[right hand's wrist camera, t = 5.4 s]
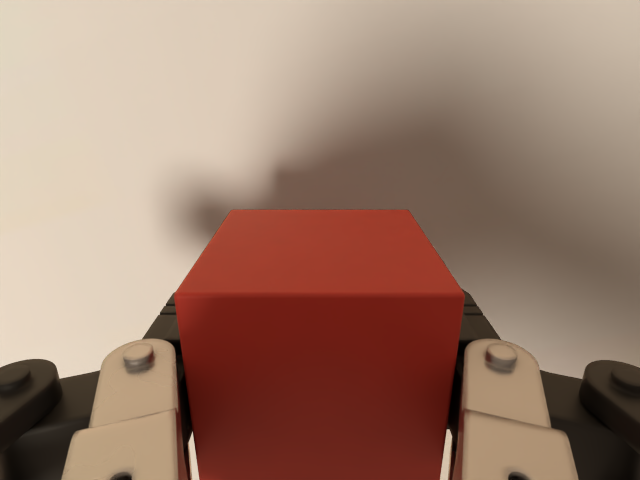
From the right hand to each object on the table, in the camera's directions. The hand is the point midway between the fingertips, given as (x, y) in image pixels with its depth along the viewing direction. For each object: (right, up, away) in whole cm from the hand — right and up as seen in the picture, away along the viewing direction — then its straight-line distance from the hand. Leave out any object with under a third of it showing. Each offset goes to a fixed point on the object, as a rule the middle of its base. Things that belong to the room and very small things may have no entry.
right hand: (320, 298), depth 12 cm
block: (0, 0, 0) cm, 1 cm away
